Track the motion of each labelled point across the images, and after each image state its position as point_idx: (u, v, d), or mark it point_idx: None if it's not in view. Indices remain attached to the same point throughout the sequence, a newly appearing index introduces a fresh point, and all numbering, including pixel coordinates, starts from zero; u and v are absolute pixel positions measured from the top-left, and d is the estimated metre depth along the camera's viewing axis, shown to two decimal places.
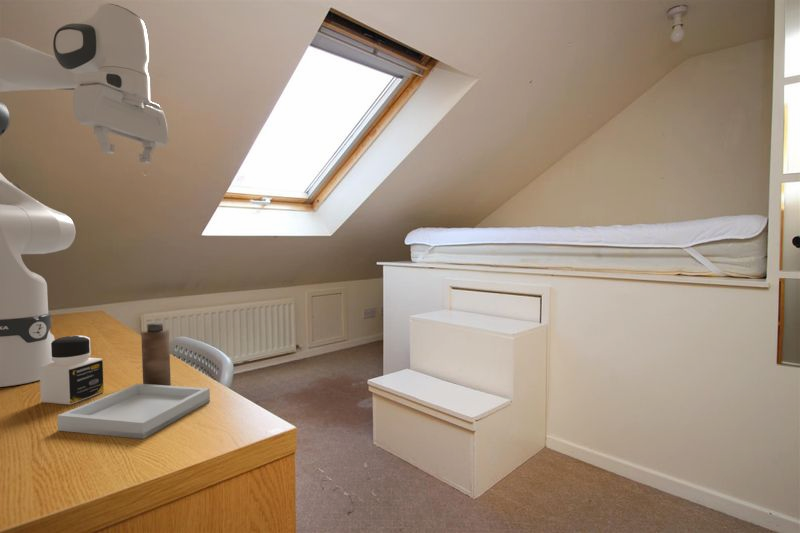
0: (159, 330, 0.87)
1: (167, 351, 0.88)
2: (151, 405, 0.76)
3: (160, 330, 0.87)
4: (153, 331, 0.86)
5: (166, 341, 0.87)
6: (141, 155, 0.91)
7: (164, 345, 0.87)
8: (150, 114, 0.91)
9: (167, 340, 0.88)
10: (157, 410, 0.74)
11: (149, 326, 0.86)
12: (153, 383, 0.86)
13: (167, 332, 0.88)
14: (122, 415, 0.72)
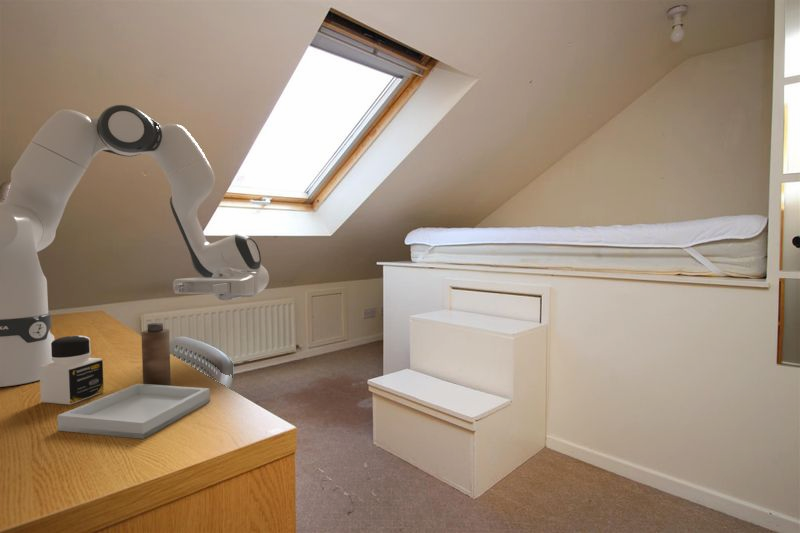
0: (159, 330, 0.87)
1: (167, 351, 0.88)
2: (151, 405, 0.76)
3: (160, 330, 0.87)
4: (153, 331, 0.86)
5: (166, 341, 0.87)
6: (182, 286, 1.01)
7: (164, 345, 0.87)
8: None
9: (167, 340, 0.88)
10: (157, 410, 0.74)
11: (149, 326, 0.86)
12: (153, 383, 0.86)
13: (167, 332, 0.88)
14: (122, 415, 0.72)
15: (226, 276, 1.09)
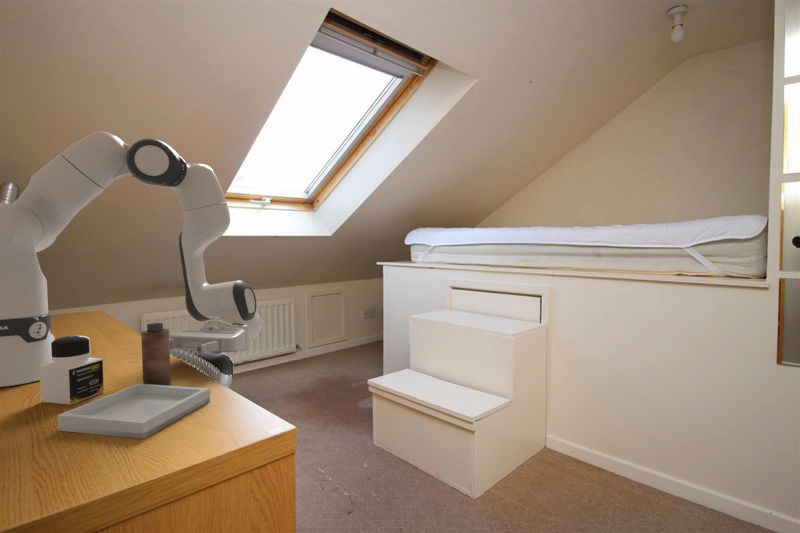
0: (159, 330, 0.87)
1: (167, 351, 0.88)
2: (151, 405, 0.76)
3: (160, 330, 0.87)
4: (153, 331, 0.86)
5: (166, 341, 0.87)
6: (170, 344, 0.98)
7: (164, 345, 0.87)
8: None
9: (167, 340, 0.88)
10: (157, 410, 0.74)
11: (149, 326, 0.86)
12: (153, 383, 0.86)
13: (167, 332, 0.88)
14: (122, 415, 0.72)
15: (216, 330, 1.05)
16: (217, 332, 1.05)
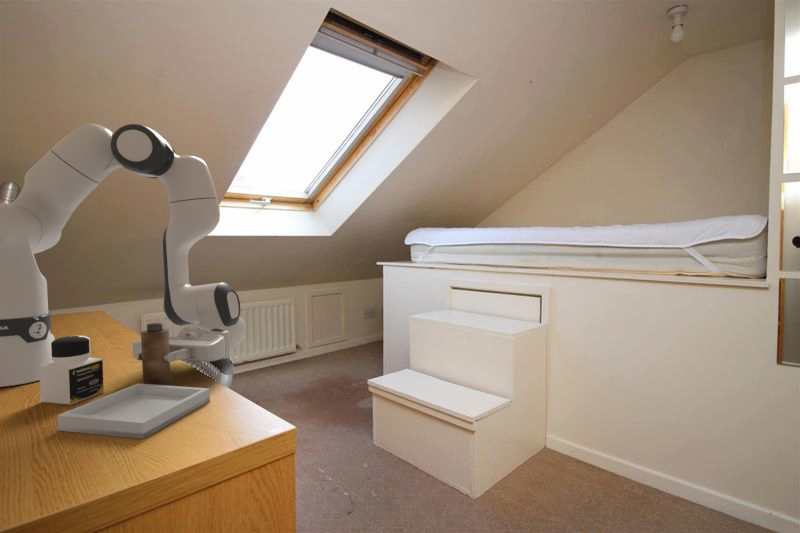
0: (159, 330, 0.87)
1: (167, 351, 0.88)
2: (151, 405, 0.76)
3: (160, 330, 0.87)
4: (153, 331, 0.86)
5: (166, 340, 0.87)
6: None
7: (164, 345, 0.87)
8: None
9: (167, 340, 0.88)
10: (157, 410, 0.74)
11: (149, 326, 0.86)
12: (153, 383, 0.86)
13: (167, 332, 0.88)
14: (122, 415, 0.72)
15: (193, 336, 0.97)
16: (194, 339, 0.96)
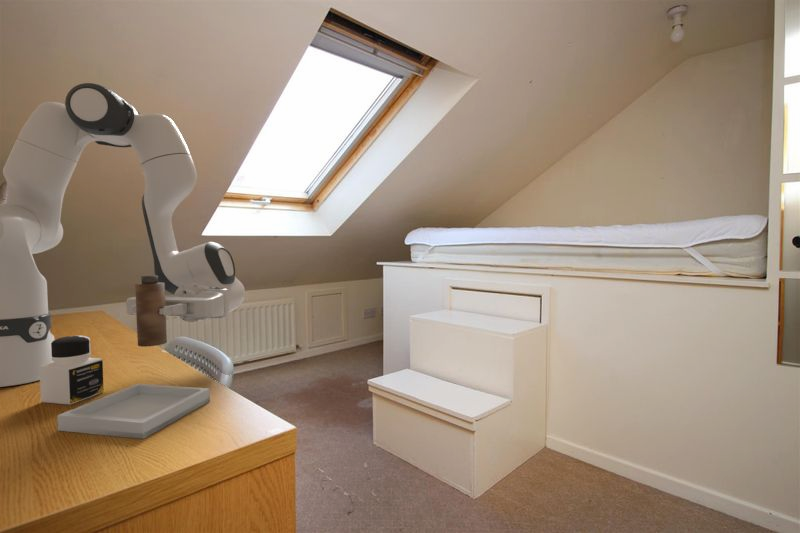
0: (154, 282, 0.82)
1: (163, 305, 0.83)
2: (151, 405, 0.76)
3: (155, 282, 0.82)
4: (148, 283, 0.82)
5: (161, 293, 0.83)
6: None
7: (160, 298, 0.82)
8: None
9: (163, 293, 0.83)
10: (157, 410, 0.74)
11: (143, 277, 0.82)
12: (148, 337, 0.81)
13: (162, 284, 0.83)
14: (122, 415, 0.72)
15: (191, 294, 0.92)
16: (192, 296, 0.92)
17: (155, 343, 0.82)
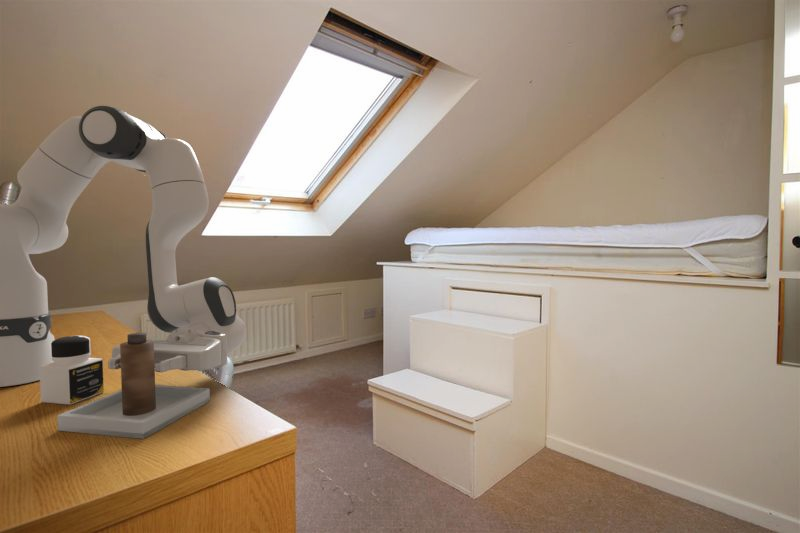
0: (142, 342, 0.73)
1: (152, 367, 0.74)
2: None
3: (143, 341, 0.73)
4: (134, 343, 0.72)
5: (150, 354, 0.73)
6: None
7: (148, 360, 0.73)
8: None
9: (151, 353, 0.74)
10: (157, 410, 0.74)
11: (129, 337, 0.72)
12: (134, 405, 0.71)
13: (151, 344, 0.74)
14: (122, 415, 0.72)
15: (184, 340, 0.82)
16: (185, 343, 0.82)
17: (142, 411, 0.72)
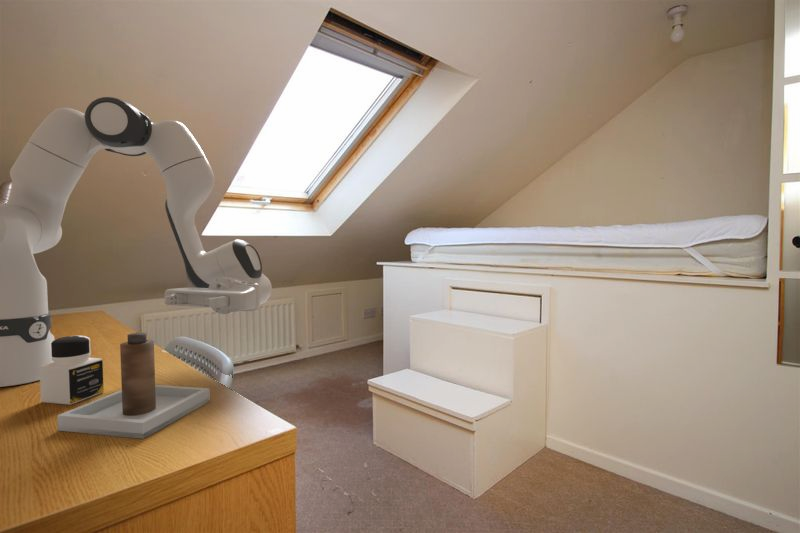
0: (142, 342, 0.73)
1: (152, 367, 0.74)
2: None
3: (143, 341, 0.73)
4: (134, 343, 0.72)
5: (150, 354, 0.73)
6: (175, 298, 0.90)
7: (148, 360, 0.73)
8: None
9: (151, 353, 0.74)
10: (157, 410, 0.74)
11: (130, 337, 0.72)
12: (134, 405, 0.71)
13: (151, 344, 0.74)
14: (122, 415, 0.72)
15: (224, 287, 0.97)
16: (226, 290, 0.97)
17: (142, 411, 0.72)
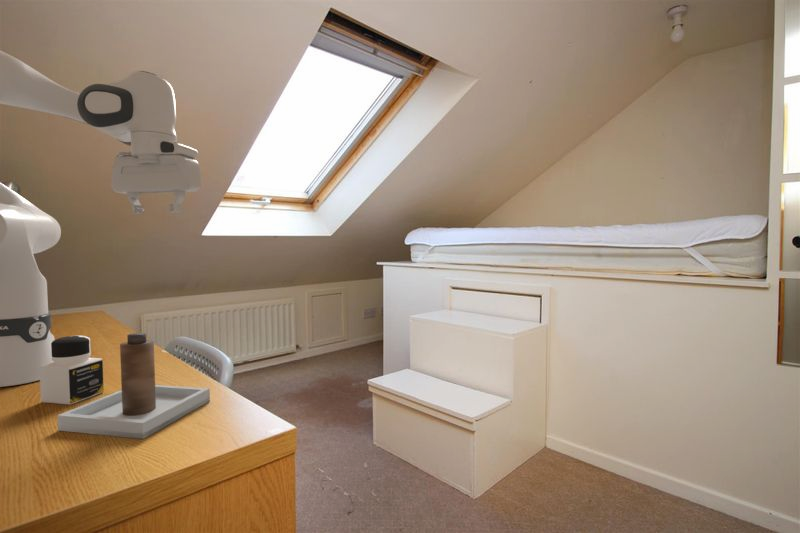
0: (142, 342, 0.73)
1: (152, 367, 0.74)
2: None
3: (143, 341, 0.73)
4: (134, 343, 0.72)
5: (150, 354, 0.73)
6: (139, 206, 0.94)
7: (148, 360, 0.73)
8: None
9: (151, 353, 0.74)
10: (157, 410, 0.74)
11: (129, 337, 0.72)
12: (134, 405, 0.71)
13: (151, 344, 0.74)
14: (122, 415, 0.72)
15: (154, 163, 0.90)
16: (158, 165, 0.91)
17: (142, 411, 0.72)
